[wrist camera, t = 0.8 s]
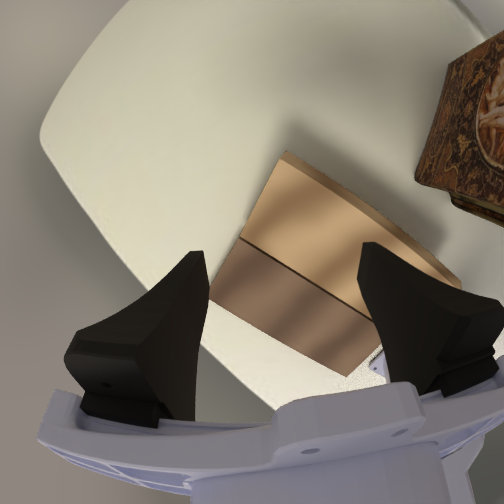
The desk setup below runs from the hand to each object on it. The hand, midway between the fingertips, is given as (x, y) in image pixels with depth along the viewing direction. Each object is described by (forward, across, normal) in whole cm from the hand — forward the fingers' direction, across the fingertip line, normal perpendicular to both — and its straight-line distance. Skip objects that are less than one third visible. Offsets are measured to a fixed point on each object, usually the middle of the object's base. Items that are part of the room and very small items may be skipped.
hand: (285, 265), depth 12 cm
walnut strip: (+12, -3, +15) cm, 20 cm away
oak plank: (+11, -8, +6) cm, 15 cm away
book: (+15, -20, -6) cm, 26 cm away
